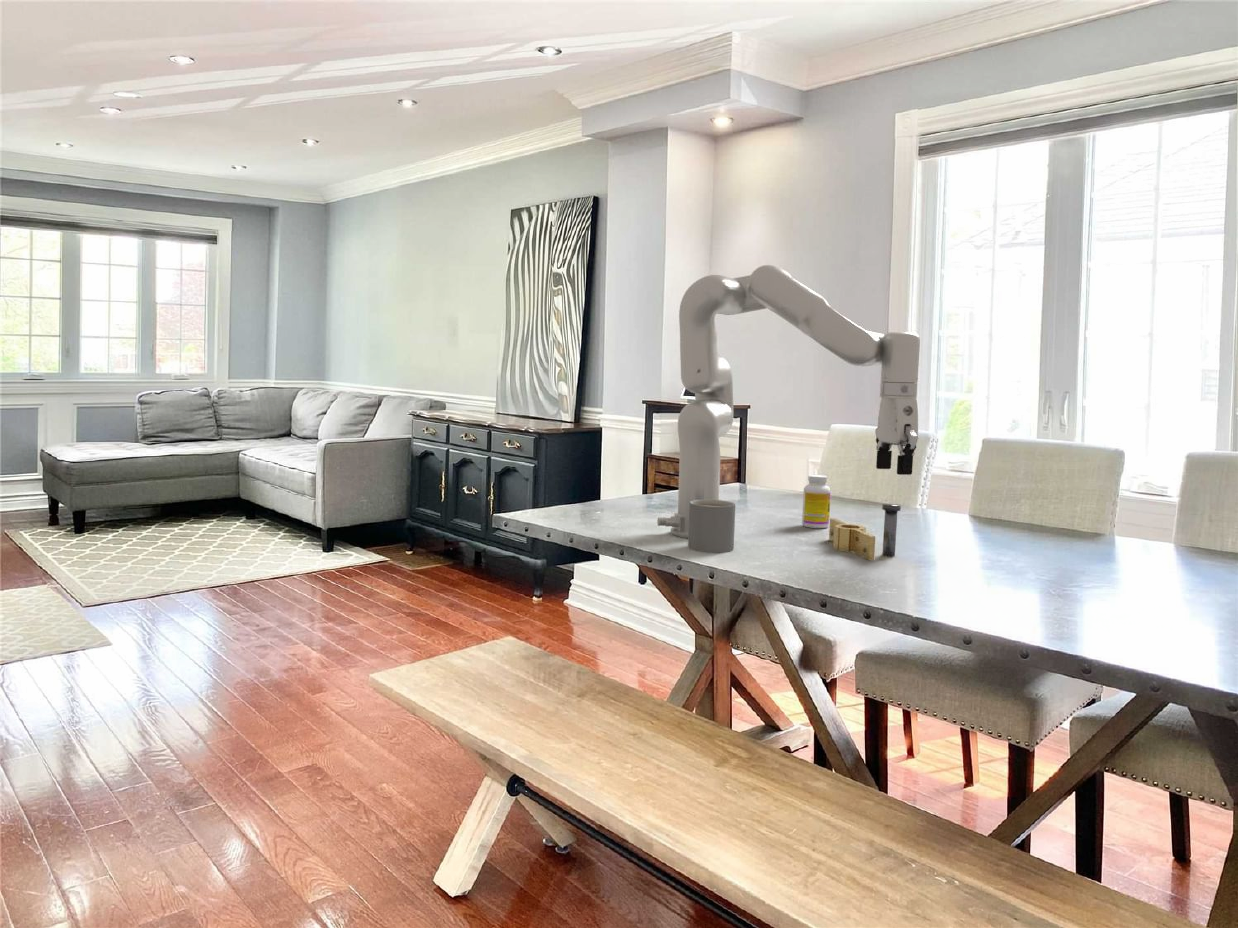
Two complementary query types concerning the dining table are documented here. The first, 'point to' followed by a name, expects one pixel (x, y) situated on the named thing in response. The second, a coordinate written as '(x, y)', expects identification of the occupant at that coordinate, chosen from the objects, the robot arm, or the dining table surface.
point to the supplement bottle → (816, 502)
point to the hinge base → (854, 540)
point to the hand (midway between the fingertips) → (893, 471)
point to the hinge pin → (890, 528)
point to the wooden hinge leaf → (832, 525)
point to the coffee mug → (711, 526)
